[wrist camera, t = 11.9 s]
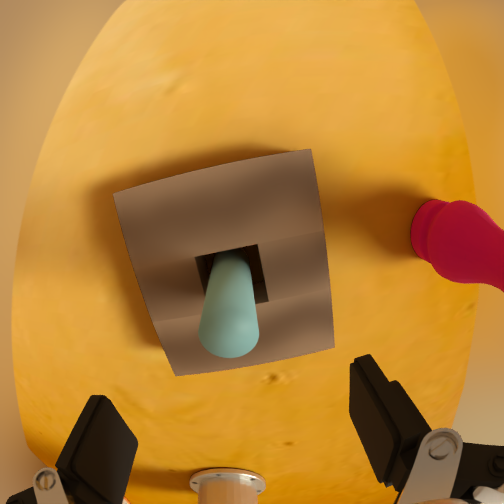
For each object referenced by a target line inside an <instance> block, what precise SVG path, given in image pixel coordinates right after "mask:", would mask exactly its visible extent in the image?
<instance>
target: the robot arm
mask: <svg viewBox="0 0 504 504" xmlns="http://www.w3.org/2000/svg"><path fill="white" fill-rule="evenodd" d="M349 413H350V417H351V419H352V422H353V424H354V426H355V429H356V431H357V433H358V435H359V438H360V440H361V442H362V445H363V447H364V449H365V452H366V454H367V456H368V459H369V461H370V464H371V466H372V468H373V471H374V473H375V475H376V478H377V480H378V482H379V483H382V482H384V484H385V486H386V487H389V486H391V485H393V486H394V488H395V491H397V492H398V494H397V496H396V498H395V501H394V503H393V504H480V503H484V504H504V446H494V445H482V444H473V443H465V442H463V441H462V438H461V436H460V435H459V434H458V432H456V431H454V430H453V429H449V428H439V429H435V430H433V431H432V430H431V428H430V427H429V425H428V424H427V422H426V421H425V419H424V418H423V416H422V415H421V413H420V412H419V410H418V409H417V407H416V406H415V404H414V403H413V402H412V400H411V399H410V397H409V396H408V394H407V393H406V391H405V390H404V389H403V387H402V386H401V384H400V383H399V382H398V381H396V380H394V381H391V382H389V381H388V379H387V378H386V376H385V375H384V373H383V372H382V370H381V369H380V368H379V366H378V365H377V363H376V362H375V360H374V359H373V357H372V356H371V355H370V354H367V355H364V356H361V357H357V358H355V359H354V363H351V364H350V397H349ZM137 447H138V441H137V438H136V437H135V436H134V434H133V433H132V431H131V430H130V429H129V427H128V426H127V424H126V423H125V422H124V420H123V419H122V417H121V416H120V414H119V413H118V411H117V410H116V408H115V407H114V405H113V403H112V402H111V400H110V399H108V398H107V397H106V396H104V395H92V396H90V398H89V400H88V401H87V403H86V405H85V407H84V409H83V411H82V413H81V414H80V416H79V418H78V420H77V422H76V424H75V426H74V428H73V430H72V432H71V434H70V436H69V438H68V440H67V442H66V444H65V446H64V448H63V450H62V452H61V454H60V456H59V458H58V460H57V462H56V464H55V466H56V467H57V468H58V470H57V471H56V470H54V469H53V468H48V467H46V468H42V469H41V470H39V471H38V472H37V473H36V474H35V476H34V478H33V487H31V488H29V489H26V490H24V491H22V492H20V493H17V494H15V495H12V496H11V497H9V499H8V500H7V502H6V504H122V503H123V499H124V495H125V491H126V487H127V483H128V480H129V476H130V472H131V469H132V465H133V461H134V458H135V454H136V451H137ZM190 487H191V488H192V489H193V490H194V491H195V492H197V493H198V504H258V501H257V495H258V494H260V493H261V492H263V491H264V490H265V487H266V483H265V480H264V478H263V477H262V476H260V475H258V474H256V473H253V472H250V471H246V470H241V469H231V468H218V469H208V470H203V471H200V472H197V473H195V474H194V475H192V476H191V478H190Z"/></svg>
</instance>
